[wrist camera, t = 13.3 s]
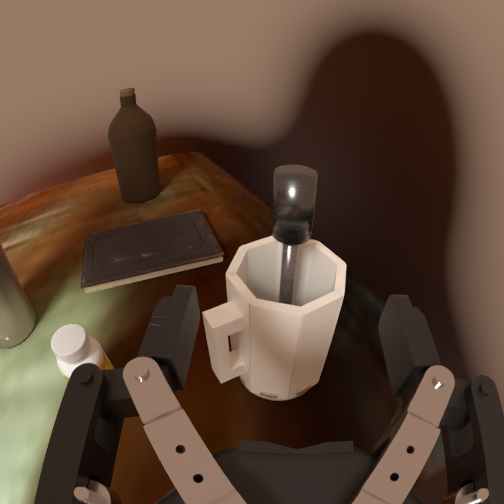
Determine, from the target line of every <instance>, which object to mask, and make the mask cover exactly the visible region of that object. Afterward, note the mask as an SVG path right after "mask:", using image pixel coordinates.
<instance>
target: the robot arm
mask: <svg viewBox="0 0 504 504" xmlns="http://www.w3.org/2000/svg"><path fill="white" fill-rule="evenodd" d="M199 320H200V311H199V304H198V298H197V292H196V287H195V286H190V285H176V287H175V290H174V293H173V295H172V297H167V296H164V297H163V298H162V299H161V300H160V301H159V302H158V303H157V304H156V306H155V309H154V311H153V314H152V317H151V319H150V322H149V325H148V327H147V330H146V333H145V335H144V338H143V341H142V344H141V346H140V349H139V352H138V355H137V357H136V358H135V359H133V360H131V361H130V362H128V363H127V365H126V366H125V367H122V368H118V369H110V370H101V369H100V368H99V367H98V366H97V365H95V364H93V363H84V364H81V365H79V366H78V367H76V368H75V369H74V370H73V372H72V374H71V376H70V379H69V382H68V385H67V387H66V390H65V393H64V396H63V399H62V402H61V405H60V408H59V411H58V414H57V417H56V420H55V424H54V427H53V430H52V434H51V437H50V441H49V444H48V448H47V451H46V455H45V459H44V463H43V467H42V471H41V475H40V479H39V484H38V488H37V493H36V498H35V503H34V504H122V503H121V500H120V497H119V496H118V494H117V493H116V492H115V491H114V490H112V489H110V486H111V480H112V475H113V469H114V464H115V459H116V454H117V449H118V444H119V439H120V435H121V430H122V426H123V421H124V418H126V417H136V416H140V417H141V419H142V422H143V427H144V429H145V432H146V434H147V436H148V438H149V440H150V442H151V444H152V446H153V448H154V450H155V451H156V453H157V455H158V457H159V459H160V461H161V463H162V465H163V466H164V468H165V470H166V472H167V473H168V475H169V477H170V479H171V480H172V482H173V484H174V486H175V487H174V488H173V489H172V490H171V491H170V492H168V493H167V494H166V495H165V496H163V497H162V498H161V499H160V500H159V501H157V502H156V503H155V504H422V503H421V502H420V501H418V499H416V498H415V496H414V495H413V494H412V493H411V492H410V490H411V488H412V486H413V485H414V483H415V481H416V479H417V478H418V476H419V474H420V472H421V470H422V469H423V467H424V465H425V463H426V461H427V459H428V457H429V455H430V453H431V451H432V449H433V447H434V445H435V443H436V441H437V438H438V436H439V434H440V428H439V427H438V426H439V425H441V429H442V436H443V444H444V452H445V461H446V471H447V482H448V495H447V496H445V498H444V499H443V501H442V504H504V415H503V411H502V407H501V403H500V399H499V395H498V392H497V388H496V386H495V383H494V382H493V381H492V380H491V379H490V378H489V377H487V376H484V375H479V376H477V377H475V378H474V379H473V381H472V382H470V381H465V380H461V379H456V378H454V377H453V375H452V373H451V372H450V371H449V370H448V369H447V368H445V367H443V366H442V365H441V362H440V359H439V356H438V353H437V350H436V347H435V344H434V341H433V338H432V336H431V332H430V330H429V328H428V324H427V321H426V319H425V316H424V315H423V314H422V312H421V311H420V310H419V309H418V308H417V307H412V304H411V302H410V299H409V297H408V296H407V295H390V296H389V298H388V300H387V302H386V305H385V307H384V310H383V312H382V315H381V317H380V320H379V335H380V339H381V344H382V348H383V353H384V357H385V362H386V367H387V372H388V377H389V382H390V387H391V392H392V397H400V396H401V398H402V403H401V404H400V406H399V407H398V409H397V411H396V413H395V414H394V416H393V418H392V420H391V421H390V423H389V425H388V426H387V428H386V430H385V431H384V433H383V434H382V436H381V437H380V439H379V440H378V442H377V443H376V444H375V445H374V447H373V448H372V449H371V451H370V452H367V451H365V450H362V449H359V448H356V447H353V441H340V442H325V443H321V444H317V445H313V446H309V447H305V448H301V449H294V448H290V447H286V446H282V445H278V444H274V443H271V442H263V441H246V440H239V446H234V447H230V448H226V449H224V450H221V451H219V452H217V453H215V454H213V455H211V453H210V452H209V450H208V449H207V447H206V446H205V444H204V442H203V441H202V439H201V438H200V436H199V435H198V433H197V431H196V430H195V428H194V426H193V425H192V423H191V421H190V420H189V418H188V416H187V415H186V413H185V411H184V410H183V408H182V407H181V406H180V404H179V403H178V401H177V399H176V397H175V396H174V395H175V391H176V390H181V391H184V387H185V382H186V378H187V373H188V369H189V365H190V360H191V356H192V352H193V348H194V343H195V339H196V335H197V331H198V327H199ZM35 322H36V313H35V310H34V308H33V307H32V305H31V303H30V301H29V300H28V298H27V296H26V294H25V292H24V290H23V288H22V286H21V284H20V283H19V281H18V279H17V277H16V275H15V273H14V271H13V269H12V267H11V264H10V262H9V260H8V258H7V256H6V254H5V252H4V249H3V247H2V245H1V243H0V347H1V348H10V347H13V346H16V345H18V344H19V343H21V342H22V341H23V340H25V339H26V338H27V337H28V335H29V334H30V333H31V331H32V330H33V328H34V325H35Z"/></svg>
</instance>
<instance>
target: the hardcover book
mask: <svg viewBox="0 0 504 504" xmlns="http://www.w3.org/2000/svg"><path fill="white" fill-rule="evenodd" d="M222 256H224V253H223V251H222V249H221V247H220V245H219V243H218V241H217V239H216V237H215V235H214V233H213V231H212V230H211V228H210V226H209V224H208V222H207V220H206V218H205V216H204V214H203V212H202V210H201V209H197V210H192V211H187V212H182V213H177V214H173V215H168V216H163V217H158V218H154V219H149V220H145V221H140V222H136V223H131V224H127V225H122V226H118V227H114V228H109V229H105V230H101V231H97V232H93V233H89V234H86V238H85V246H84V255H83V265H82V276H81V289H82V288H84V290H85V293H90V292H94V291H98V290H103V289H107V288H111V287H116V286H120V285H124V284H128V283H133V282H137V281H141V280H146V279H150V278H154V277H158V276H163V275H167V274H171V273H176V272H180V271H184V270H188V269H193V268H197V267H201V266H206V265H210V264H214V263H218V262H223V257H222Z"/></svg>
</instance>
